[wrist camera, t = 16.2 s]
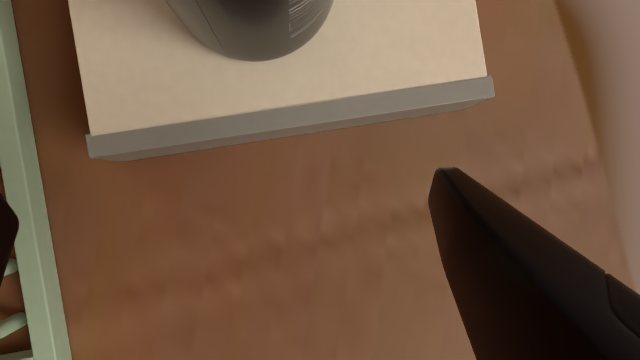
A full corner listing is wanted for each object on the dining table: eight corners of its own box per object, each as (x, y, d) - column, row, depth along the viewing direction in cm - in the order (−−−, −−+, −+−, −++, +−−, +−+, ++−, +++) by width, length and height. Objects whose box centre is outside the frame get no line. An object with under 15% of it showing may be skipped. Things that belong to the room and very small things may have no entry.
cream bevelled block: (463, 109, 20) (495, 96, 17) (122, 162, 19) (88, 158, 16) (431, -97, 20) (457, -149, 17) (85, -58, 19) (43, -107, 16)
